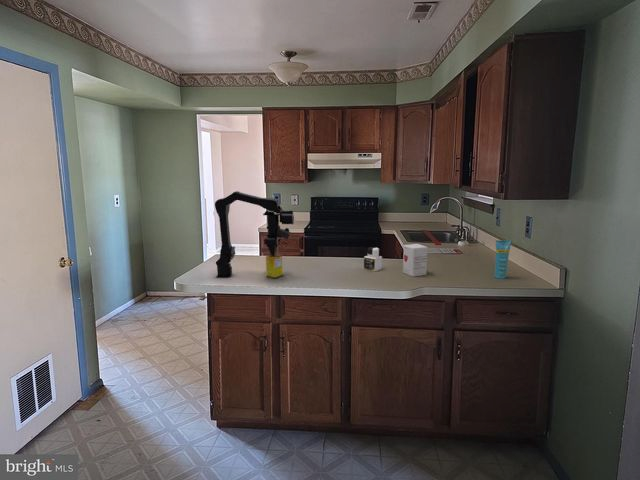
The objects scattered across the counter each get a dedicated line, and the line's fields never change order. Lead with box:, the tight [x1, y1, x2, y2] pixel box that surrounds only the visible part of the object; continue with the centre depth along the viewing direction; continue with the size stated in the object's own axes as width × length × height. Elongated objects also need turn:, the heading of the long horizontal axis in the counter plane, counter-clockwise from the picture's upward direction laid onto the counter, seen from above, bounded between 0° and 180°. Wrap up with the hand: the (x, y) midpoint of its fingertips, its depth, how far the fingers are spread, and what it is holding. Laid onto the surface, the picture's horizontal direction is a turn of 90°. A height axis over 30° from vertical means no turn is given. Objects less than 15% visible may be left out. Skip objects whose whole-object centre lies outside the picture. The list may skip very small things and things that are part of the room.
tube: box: [494, 239, 512, 280], centre depth 205 cm, size 7×5×19 cm, turn 92°
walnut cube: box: [268, 246, 280, 257], centre depth 207 cm, size 4×4×4 cm
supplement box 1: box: [265, 254, 283, 280], centre depth 209 cm, size 6×6×11 cm
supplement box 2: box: [402, 243, 429, 278], centre depth 213 cm, size 9×9×15 cm
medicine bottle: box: [363, 246, 383, 272], centre depth 222 cm, size 7×7×12 cm
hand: (273, 254), depth 207 cm, fingers open, 5 cm apart
